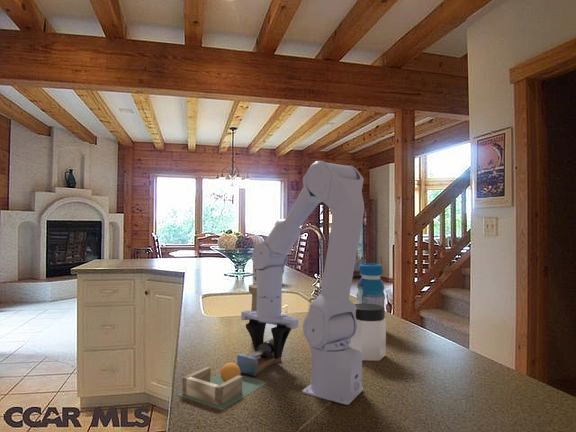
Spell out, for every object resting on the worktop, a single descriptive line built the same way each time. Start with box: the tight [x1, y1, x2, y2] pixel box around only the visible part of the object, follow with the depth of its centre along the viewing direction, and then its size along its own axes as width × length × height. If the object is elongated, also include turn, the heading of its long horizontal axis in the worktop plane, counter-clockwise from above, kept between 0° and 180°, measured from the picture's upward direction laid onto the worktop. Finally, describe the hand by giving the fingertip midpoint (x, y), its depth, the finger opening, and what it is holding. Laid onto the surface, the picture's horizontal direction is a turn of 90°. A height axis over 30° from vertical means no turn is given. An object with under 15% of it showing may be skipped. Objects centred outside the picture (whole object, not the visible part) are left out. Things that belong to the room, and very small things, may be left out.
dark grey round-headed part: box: [236, 338, 274, 377], centre depth 88 cm, size 11×5×5 cm, turn 149°
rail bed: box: [257, 354, 282, 374], centre depth 89 cm, size 3×10×2 cm, turn 149°
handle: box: [248, 284, 257, 311], centre depth 107 cm, size 5×6×15 cm
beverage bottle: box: [356, 263, 386, 308], centre depth 120 cm, size 8×8×20 cm
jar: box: [349, 303, 387, 362], centre depth 97 cm, size 9×8×12 cm
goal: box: [181, 366, 242, 405], centre depth 74 cm, size 9×6×3 cm
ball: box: [219, 362, 242, 382], centre depth 79 cm, size 4×4×4 cm
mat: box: [176, 373, 268, 411], centre depth 76 cm, size 11×14×1 cm
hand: (268, 355), depth 90 cm, fingers open, 5 cm apart
